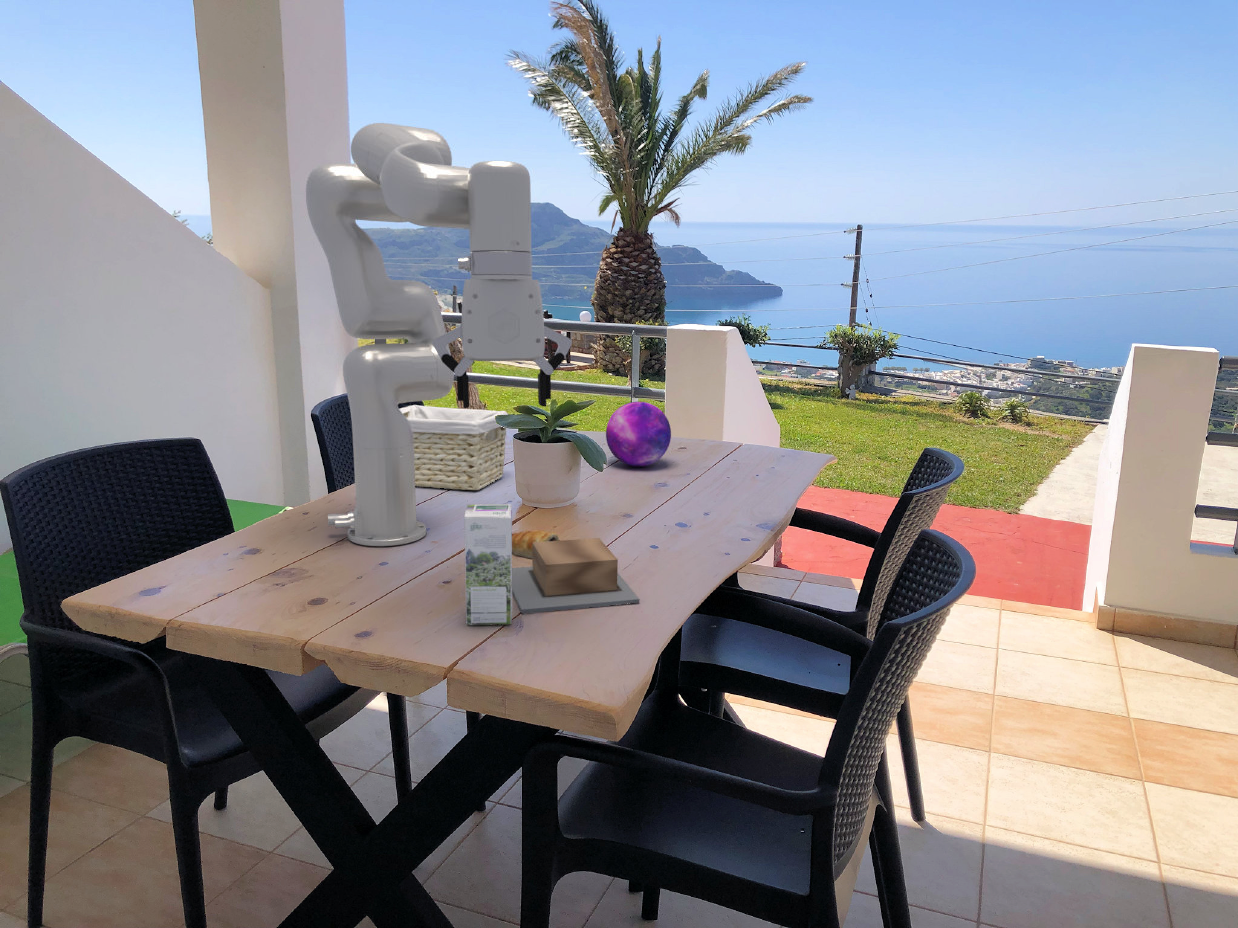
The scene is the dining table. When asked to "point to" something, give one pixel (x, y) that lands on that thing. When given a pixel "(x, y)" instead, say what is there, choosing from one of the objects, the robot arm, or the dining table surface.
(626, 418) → the decorative orb
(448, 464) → the storage basket
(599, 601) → the slate mat
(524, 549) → the pastry
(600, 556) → the plinth
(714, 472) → the dining table surface
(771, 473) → the dining table surface
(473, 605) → the syrup box
